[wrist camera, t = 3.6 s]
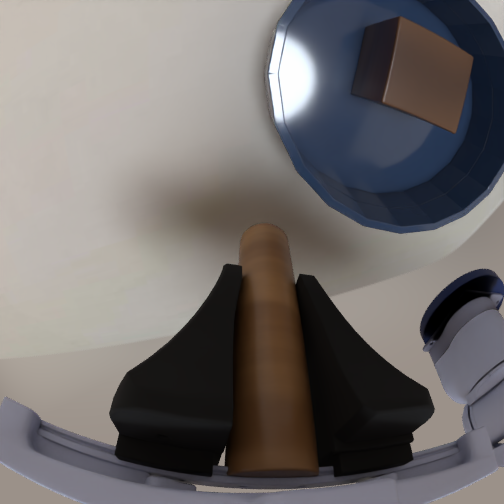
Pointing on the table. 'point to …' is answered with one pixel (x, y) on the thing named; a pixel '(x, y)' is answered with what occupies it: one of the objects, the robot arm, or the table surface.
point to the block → (413, 72)
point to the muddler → (269, 366)
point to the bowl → (385, 115)
